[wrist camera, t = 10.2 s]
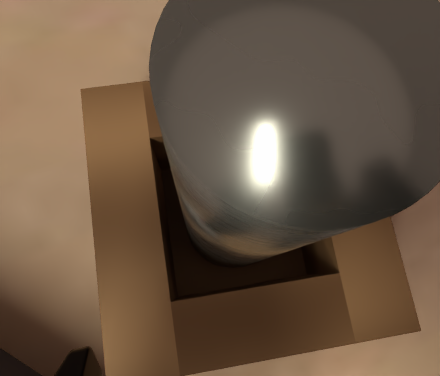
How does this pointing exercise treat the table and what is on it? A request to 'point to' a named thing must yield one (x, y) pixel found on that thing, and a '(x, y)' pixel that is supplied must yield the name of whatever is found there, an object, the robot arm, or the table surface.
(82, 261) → the table surface
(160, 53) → the pin
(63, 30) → the table surface
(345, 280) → the hole block
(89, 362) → the robot arm
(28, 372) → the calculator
